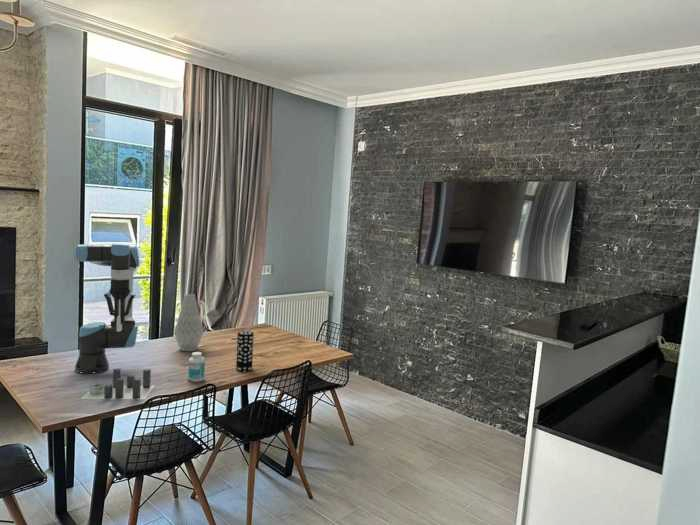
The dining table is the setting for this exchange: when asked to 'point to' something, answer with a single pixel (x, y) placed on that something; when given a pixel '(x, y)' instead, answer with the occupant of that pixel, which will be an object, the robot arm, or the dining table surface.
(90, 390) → the nut
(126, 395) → the board
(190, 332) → the vase
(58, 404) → the dining table surface
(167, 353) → the dining table surface
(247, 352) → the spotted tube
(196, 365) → the pill bottle
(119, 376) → the spacers
